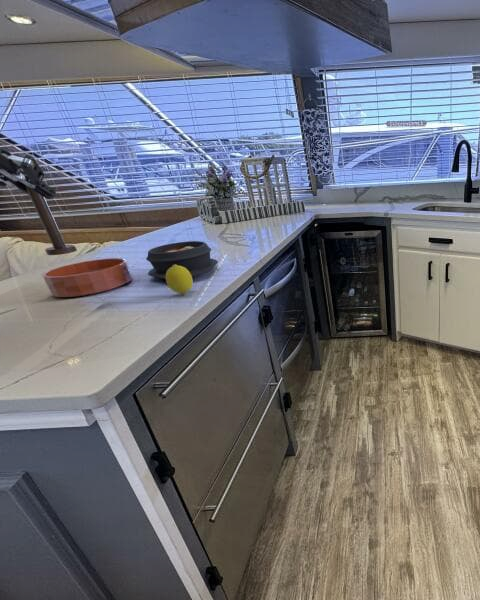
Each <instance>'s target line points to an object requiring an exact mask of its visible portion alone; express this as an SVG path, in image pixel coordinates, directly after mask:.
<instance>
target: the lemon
mask: <svg viewBox="0 0 480 600" xmlns="http://www.w3.org/2000/svg"><path fill="white" fill-rule="evenodd" d="M165 282H166V285H167V286H168V288H169V289H170V290H171V291H172V292H174V293H177V294H181V295H186V294H187V292H189V291H191V289H192V288H193V285H194V280H193V276H191V274H190V272H189V271H188V270H187V269H186V268H184V267H182V266H178V265H173V266H172V267H171V268H169V269H168V270H167V272H166V279H165Z"/></svg>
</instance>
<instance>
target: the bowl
mask: <svg viewBox="0 0 480 600" xmlns="http://www.w3.org/2000/svg"><path fill="white" fill-rule="evenodd" d="M41 277H42V279H43V281H44V283H45V285H46V287H47V288H48V290H49V293H50V294H51V295H52V297H57V298H70V297H71V298H73V297H74V298H75V297H83V296H84V297H85V296H89V295H95V294H100V293H103V292H107V291H110V290H113V289H116V288H118V287H121V286H123V285H125V284H128V283H130V282H131V281H132V280H133V275H132V273H131V270H130V267H129V265H128V262H127V260H126V259H124V258H119V257H118V258H117V257H114V258H113V257H111V258H110V257H109V258H100V259H92V260H86V261H80V262H75V263H70V264H66V265H62V266H58V267H55V268H52V269H49V270H46V271H44V272H43V273H42V274H41Z"/></svg>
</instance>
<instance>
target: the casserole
mask: <svg viewBox="0 0 480 600" xmlns="http://www.w3.org/2000/svg"><path fill="white" fill-rule="evenodd" d="M211 251H212V247H209V245H208V244H207V242H205V241H197V240H191V241H181V242H179V241H178V242H172V243H168V244H163V245H159V246H156V247H153V248H150V249H149V250H148V251H147V256H146V258H145V260H146V261H147V262H149V263H150V265H151V266H152V268H151V269H150V270H149V271H148V272H147V276H150V277H153V278H161V279H164V280H166V272H167V270H168V269H169V268H171V267H172V266H173V265H178V266H182V267H184V268H186V269H187V270H188V271H189V272H190V274H191V276H192V277H197V276H201V275H203V274H207V273H209V272H211V271H213V269H214V267H215V266H217V265H218V263H219V261H218V260H217V259H215V258H211Z"/></svg>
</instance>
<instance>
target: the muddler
mask: <svg viewBox="0 0 480 600" xmlns="http://www.w3.org/2000/svg"><path fill="white" fill-rule="evenodd" d="M25 178H26V179H27V180H29V177H28V176H27V175H25ZM24 185H25V184H24ZM25 188H26V190H27V192H28V194H29V195H28V194H27V195H28V196H29V198H30V201H31V202H32V205H33V207H34V209H35V211H36V213H37V215H38V217H39V219H40V221H41V224H42V226H43V228H44V230H45V232H46V234H47V237H48V239H49V241H50V243H51V245H52V246H50V247H46V248H45V249H44V251H45V253H46V255H47V256H60V255H66V254H71V253H75V252H77V251H78V249H77V247H76V245H75V244H66V243H65V242H66V241H65V240H64V238H63V235H62V233H61V231H60V230H59V227H58V224H57V223H56V221H55V218H54V216H53V213H52V211H51V209H50V207H49V205H48V203H47V199H46V197H44V196H43V195H41V194H40V193H38V192H36V191H35V190H33V189H32V188H31V187H29V186H27V185H25Z"/></svg>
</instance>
